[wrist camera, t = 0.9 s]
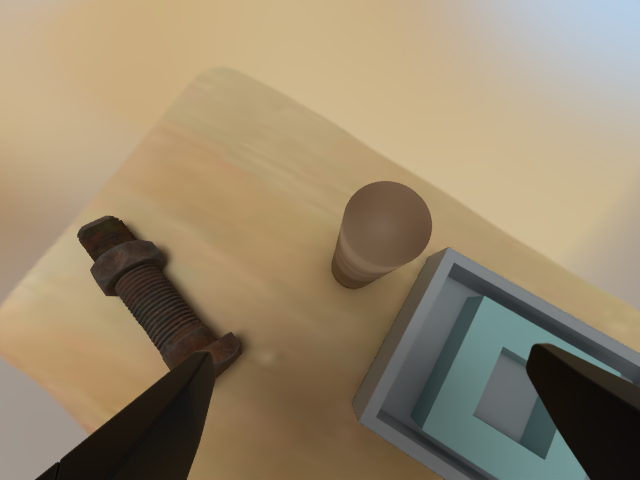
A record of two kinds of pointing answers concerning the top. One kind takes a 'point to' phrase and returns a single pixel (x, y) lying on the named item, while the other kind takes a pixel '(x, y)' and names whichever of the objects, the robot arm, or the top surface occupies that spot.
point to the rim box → (477, 376)
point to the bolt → (151, 294)
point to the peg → (380, 233)
